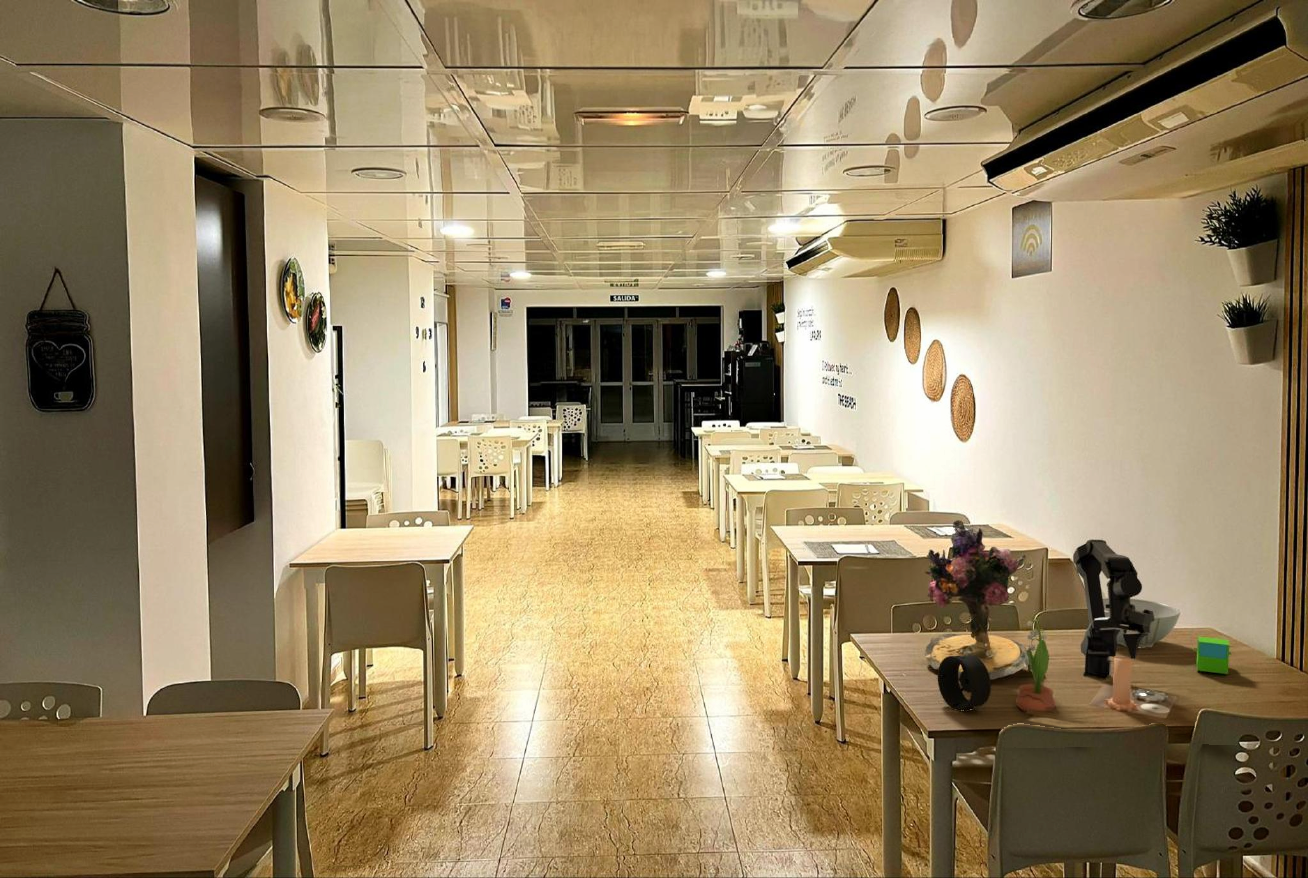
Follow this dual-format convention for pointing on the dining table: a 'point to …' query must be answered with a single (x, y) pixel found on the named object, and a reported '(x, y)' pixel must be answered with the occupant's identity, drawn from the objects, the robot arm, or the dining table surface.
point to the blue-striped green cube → (1212, 655)
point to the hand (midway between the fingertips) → (1123, 657)
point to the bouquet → (974, 602)
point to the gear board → (1142, 706)
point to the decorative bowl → (1158, 628)
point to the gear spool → (1122, 685)
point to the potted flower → (1036, 676)
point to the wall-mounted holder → (964, 682)
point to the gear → (1150, 696)
